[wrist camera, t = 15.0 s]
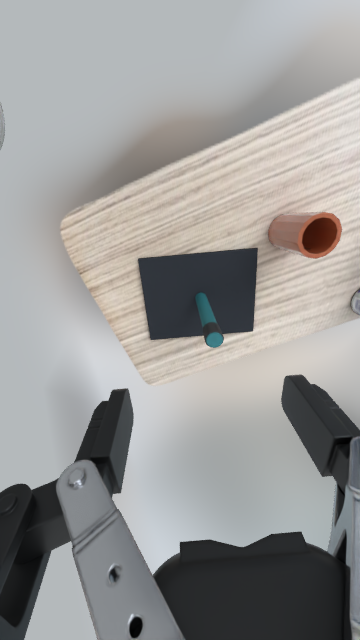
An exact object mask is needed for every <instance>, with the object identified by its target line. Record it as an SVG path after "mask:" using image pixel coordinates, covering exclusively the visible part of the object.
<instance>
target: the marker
mask: <svg viewBox="0 0 360 640" xmlns="http://www.w3.org/2000/svg"><path fill="white" fill-rule="evenodd" d="M195 299H196V303H197V307H198V311H199V315H200V319H201V323H202V327H203V334H204V338H205V342H206V344H207V345H208V346H209V347H213V348H215V347H218V346H220V345H221V344H222V343H223V340H224V337H223V335H222V332H221V330H220V327H219V325H218V324H217V322H216V319H215V317H214V314H213V312H212V309H211V307H210V304H209V302H208V299H207V297H206V295H205V294H204V293H198V294H197V295H196V297H195Z"/></svg>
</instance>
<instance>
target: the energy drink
mask: <svg viewBox="0 0 360 640" xmlns="http://www.w3.org/2000/svg"><path fill="white" fill-rule="evenodd" d="M351 306H352V309H353V311H354V312H355V313H357V314H359V315H360V290H358V291H357V292H356V293H355V295H354V296H353V298H352V302H351Z"/></svg>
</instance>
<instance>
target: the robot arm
mask: <svg viewBox="0 0 360 640" xmlns="http://www.w3.org/2000/svg"><path fill="white" fill-rule="evenodd" d="M281 400H282V407H283V410H284V412H285V414H286V415H287V417H288V419H289V420H290V422H291V424H292V426H293V427H294V429H295V431H296V432H297V434H298V436H299V437H300V439H301V441H302V443H303V445H304V446H305V448H306V449H307V451H308V453H309V455H310V456H311V458H312V460H313V461H314V463H315V465H316V467H317V469H318V470H319V472H320V474H321V475H322V477H325V476H333V477H334V479H335V480H336V485H335V495H334V505H333V506H334V507H333V518H332V530H331V536H330V541H329V545H328V551H324V550H323V549H321V548H319V547H317V546H314V545H311V544H309V543H306V542H305V539H304V537H303V535H302V532H291V533H279V534H271V535H269V536H267V537H265V538H263V539H260V540H258V541H257V542H254V543H252V544H250V545H248V546H246V547H237V546H233V545H229V544H225V543H221V542H217V541H213V540H200V541H188V542H180V553H178V554H176V555H174V556H173V557H171V558H170V559H168V560H167V561H166V562H164V563H163V564H162V565H161V566H160V567H159V568H158V570H157V571H156V572H155V573H154V574H153V575H152V573H151V572H150V569H149V568H148V566H147V564H146V562H145V560H144V558H143V556H142V554H141V552H140V550H139V548H138V546H137V544H136V542H135V540H134V538H133V536H132V534H131V532H130V530H129V528H128V526H127V524H126V522H125V520H124V518H123V516H122V514H121V512H120V511H119V509H117V508H116V506H115V504H114V502H113V500H112V495H113V494H116V493H121V489H122V483H123V477H124V472H125V465H126V460H127V455H128V448H129V443H130V438H131V432H132V426H133V408H132V404H131V400H130V394H129V390H128V389H117V390H113V391H112V392H111V395H110V398H109V401H102V402H101V403H100V404H99V405H98V406H97V408H96V409H95V410H94V413H93V415H92V418H91V421H90V423H89V426H88V429H87V431H86V434H85V436H84V439H83V442H82V444H81V447H80V449H79V452H78V454H77V457H76V460H75V461H74V463H73V464H71V465H70V466H68V468H66V469H65V470H64V471H63V473H62V474H61V476H60V477H59V478H58V479H57V480H55V481H53V482H50V483H48V484H45V485H43V486H40V487H38V488H36V489H33V490H31V489H30V488H29V486H28V485H26V484H16V485H13V486H10V487H9V488H7V489H5V490H4V491H2V492H1V493H0V640H24V638H25V635H26V631H27V628H28V625H29V622H30V618H31V615H32V612H33V609H34V605H35V602H36V599H37V596H38V592H39V589H40V586H41V583H42V579H43V576H44V572H45V569H46V566H47V563H48V560H49V557H50V554H51V550H53V549H55V548H57V547H59V546H61V545H63V544H65V543H68V542H70V541H71V542H72V545H73V548H72V552H73V557H74V560H75V564H76V567H77V571H78V574H79V577H80V581H81V584H82V588H83V591H84V594H85V598H86V601H87V605H88V608H89V612H90V615H91V618H92V622H93V625H94V629H95V632H96V635H97V639H98V640H360V430H359V429H358V428H357V427H356V425H355V424H354V423H353V422H352V421H351V420H350V419H349V417H348V416H347V415H346V414H345V413H344V412H343V411H342V410H341V409H340V408H339V406H338V405H337V404H336V403H335V402H334V401H333V399H332V398H331V397H330V396H329V395H328V394H327V392H326V391H324V390H323V389H321V388H320V387H318V386H317V385H315V384H310V383H309V382H308V381H307V379H306V378H305V377H304V376H303V375H290V376H286V377H285V379H284V385H283V392H282V398H281Z"/></svg>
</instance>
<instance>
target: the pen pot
mask: <svg viewBox="0 0 360 640" xmlns="http://www.w3.org/2000/svg"><path fill="white" fill-rule="evenodd" d="M341 232H342V227H341V224H340V220H339V219H338V218H337V217H336V216H335V215H334V214H332V213H326V212H310V213H286V214H282V215H280V216H278V217H277V218H275V219H274V221H273V222H272V223H271V225H270V227H269V231H268V237H269V240H270V242H271V244H272V245H273V246H275V247H277V248H279V249H282V250H285V251H289V252H292V253H295V254H298V255H301V256H304V257H308V258H319V257H323V256H325V255H327V254H328V253H329V252H331V251H332V250H333V249H334V248H335V247H336V245H337V243H338V242H339V240H340V237H341Z"/></svg>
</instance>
